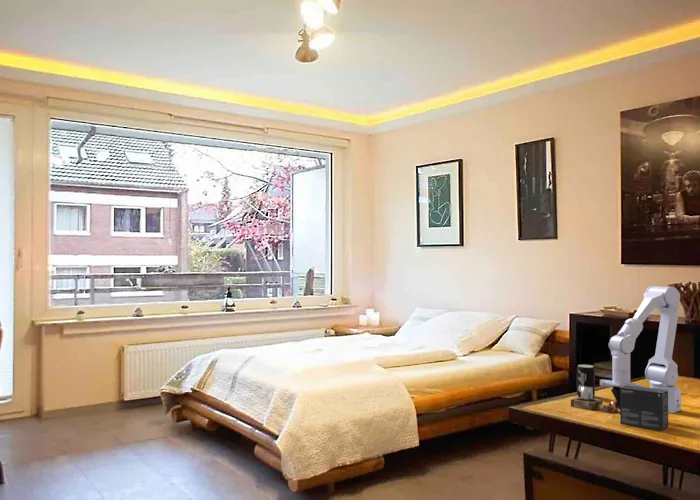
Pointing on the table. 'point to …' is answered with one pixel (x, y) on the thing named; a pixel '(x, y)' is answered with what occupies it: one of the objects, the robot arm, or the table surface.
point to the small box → (644, 407)
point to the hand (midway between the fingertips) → (621, 409)
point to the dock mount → (589, 404)
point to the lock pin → (612, 408)
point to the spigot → (586, 394)
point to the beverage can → (585, 378)
